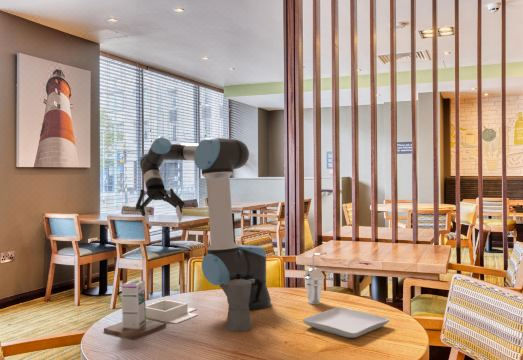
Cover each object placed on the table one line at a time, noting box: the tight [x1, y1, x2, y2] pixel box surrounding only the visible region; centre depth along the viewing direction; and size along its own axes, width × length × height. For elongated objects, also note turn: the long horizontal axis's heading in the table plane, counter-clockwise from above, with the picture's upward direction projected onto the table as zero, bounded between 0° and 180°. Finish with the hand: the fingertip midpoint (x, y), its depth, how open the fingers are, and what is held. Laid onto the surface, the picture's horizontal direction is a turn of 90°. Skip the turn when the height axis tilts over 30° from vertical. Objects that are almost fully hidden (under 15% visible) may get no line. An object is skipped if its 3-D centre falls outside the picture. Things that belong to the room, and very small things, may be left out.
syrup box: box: [121, 279, 147, 329], centre depth 156 cm, size 6×6×14 cm
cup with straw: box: [302, 252, 327, 305], centre depth 186 cm, size 8×9×20 cm
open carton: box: [145, 299, 199, 325], centre depth 173 cm, size 17×17×4 cm
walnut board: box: [103, 318, 167, 340], centre depth 156 cm, size 14×14×1 cm
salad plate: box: [302, 306, 390, 339], centre depth 156 cm, size 21×21×3 cm
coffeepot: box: [218, 273, 263, 333], centre depth 157 cm, size 15×9×18 cm, turn 115°
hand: (164, 220), depth 190 cm, fingers open, 13 cm apart
